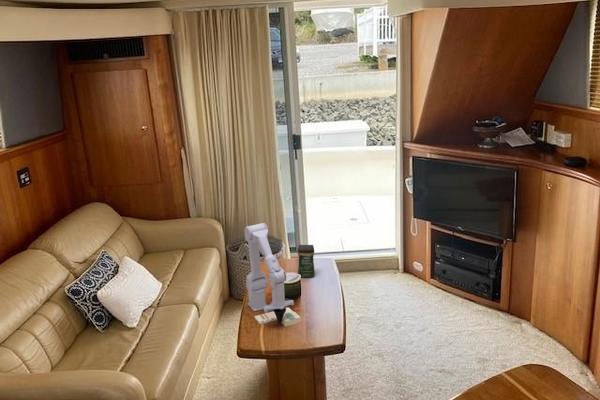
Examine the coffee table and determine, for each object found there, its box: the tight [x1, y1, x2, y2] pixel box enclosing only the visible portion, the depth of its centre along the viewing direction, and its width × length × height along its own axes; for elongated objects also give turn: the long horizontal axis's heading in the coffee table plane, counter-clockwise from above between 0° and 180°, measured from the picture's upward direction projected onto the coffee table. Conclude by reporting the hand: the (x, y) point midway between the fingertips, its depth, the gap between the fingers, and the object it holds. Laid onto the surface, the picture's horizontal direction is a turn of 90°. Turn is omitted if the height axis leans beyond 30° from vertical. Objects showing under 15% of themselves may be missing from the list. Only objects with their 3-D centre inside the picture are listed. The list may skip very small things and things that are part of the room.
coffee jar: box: [297, 244, 316, 279], centre depth 279 cm, size 10×8×19 cm
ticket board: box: [254, 306, 294, 325], centre depth 236 cm, size 7×18×1 cm, turn 116°
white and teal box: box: [281, 311, 302, 327], centre depth 231 cm, size 6×8×4 cm
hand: (279, 322), depth 229 cm, fingers closed
